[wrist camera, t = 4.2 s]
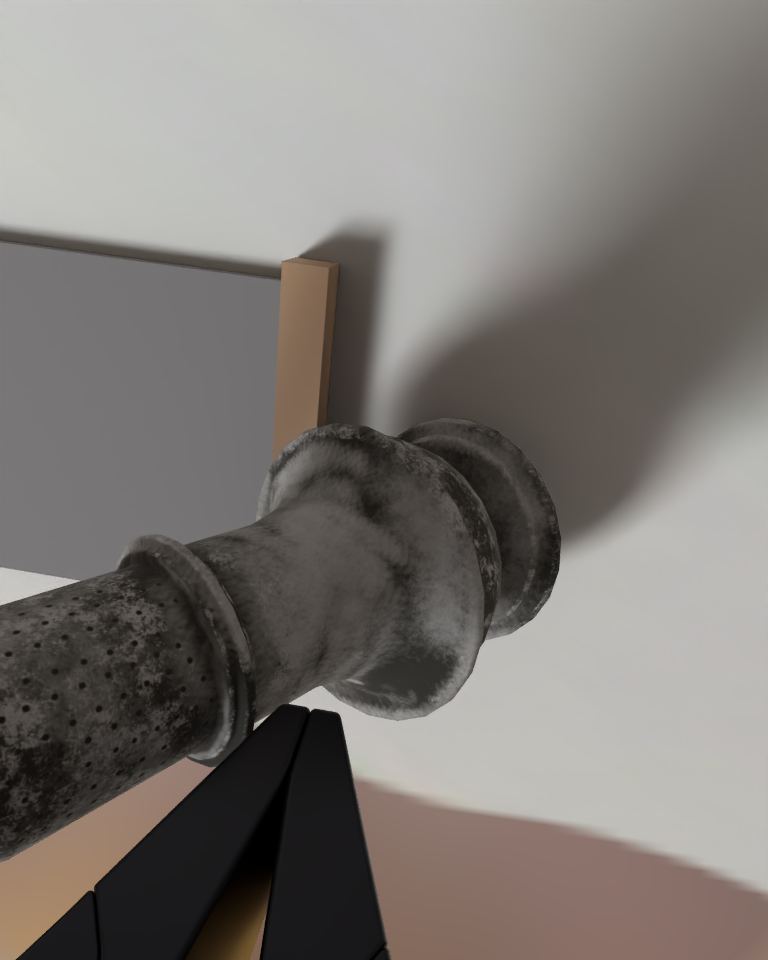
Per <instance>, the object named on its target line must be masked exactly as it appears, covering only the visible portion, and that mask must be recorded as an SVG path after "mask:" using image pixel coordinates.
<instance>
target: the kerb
mask: <svg viewBox="0 0 768 960" xmlns="http://www.w3.org/2000/svg"><path fill="white" fill-rule="evenodd" d="M338 273H339V263H334V262H326V261H319V260H311V259H304V258H297V257H296V258H292V259H289V260H285V261H282V270H281V291H280V312H279V333H278V354H277V374H276V395H275V416H274V437H273V458H272V464H273V462H274V461H275V459H276V458H277V456H278V455H279V454H280V452H281V451H282V449H283V448H284V446H285V445H287V444H288V443H290V442H291V441H292V440H294V439H295V438H296V437H298V436H299V435H301V434H302V433H303V432H305V431H306V430H309V429H313V428H317V427H321V426H325V425H326V417H327V405H328V393H329V381H330V369H331V357H332V345H333V333H334V321H335V309H336V297H337V285H338Z"/></svg>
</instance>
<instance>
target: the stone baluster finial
mask: <svg viewBox="0 0 768 960" xmlns="http://www.w3.org/2000/svg"><path fill="white" fill-rule="evenodd" d="M560 547H561V536H560V531H559V526H558V521H557V516H556V511H555V506H554V504H553V502H552V499H551V497H550V495H549V493H548V491H547V489H546V486H545V484H544V482H543V480H542V478H541V476H540V474H539V473H538V472H537V470H536V469H535V468H534V467H533V465H532V464H531V463H530V461H529V460H528V459H527V458H526V456H525V455H524V454H523V452H522V451H521V450H520V449H519V448H517V447H516V446H515V445H514V444H512V443H511V442H510V441H508V440H507V439H506V438H505V437H503V436H502V435H501V434H499V433H498V432H497V431H495V430H493V429H490V428H488V427H485V426H483V425H481V424H478V423H476V422H474V421H471V420H464V419H454V418H440V419H436V420H431V421H427V422H422V423H418V424H417V425H415V426H413V427H412V428H410V429H408V430H407V431H405V432H403V433H402V434H400V435H399V436H398V437H397V438H396V437H389V436H386V435H384V434H382V433H380V432H378V431H375V430H373V429H371V428H369V427H366V426H358V425H350V424H342V423H333V424H329V425H325V426H321V427H317V428H313V429H309V430H306V431H305V432H303V433H302V434H301V435H299V436H298V437H296V438H295V439H294V440H292V441H291V442H290V443H288V444H287V445H285V446H284V448H283V449H282V451H281V452H280V454H279V455H278V456H277V458H276V459H275V461H274V462H273V464H272V465H271V466H270V468H269V470H268V472H267V475H266V478H265V481H264V484H263V487H262V489H261V492H260V495H259V498H258V506H257V515H256V522H255V523H253V524H251V525H249V526H245V527H242V528H239V529H235V530H232V531H229V532H225V533H222V534H219V535H215V536H212V537H208V538H205V539H202V540H198V541H195V542H192V543H188V544H185V545H182V544H181V543H180V542H178V541H176V540H174V539H171V538H168V537H166V536H163V535H160V534H155V535H144V536H140V537H138V538H136V539H135V540H134V541H132V542H131V543H130V544H128V545H127V546H126V548H125V549H124V551H123V553H122V555H121V557H120V558H119V560H118V562H117V565H116V569H115V571H113V572H110V573H106V574H103V575H100V576H96V577H93V578H90V579H86V580H83V581H80V582H77V583H73V584H70V585H67V586H63V587H60V588H57V589H54V590H50V591H47V592H44V593H40V594H37V595H34V596H31V597H27V598H24V599H21V600H17V601H14V602H11V603H7V604H4V605H1V606H0V862H2V861H6V860H8V859H10V858H12V857H13V856H15V855H17V854H19V853H20V852H22V851H24V850H26V849H27V848H29V847H31V846H33V845H34V844H36V843H38V842H39V841H41V840H43V839H44V838H46V837H48V836H50V835H52V834H53V833H55V832H57V831H58V830H60V829H62V828H64V827H65V826H67V825H69V824H70V823H72V822H74V821H75V820H78V819H79V818H81V817H83V816H84V815H86V814H88V813H89V812H91V811H93V810H95V809H96V808H98V807H100V806H102V805H103V804H105V803H107V802H109V801H110V800H112V799H114V798H115V797H117V796H119V795H121V794H123V793H124V792H126V791H128V790H129V789H131V788H133V787H135V786H136V785H138V784H140V783H142V782H143V781H145V780H147V779H148V778H150V777H152V776H154V775H155V774H157V773H159V772H161V771H162V770H164V769H166V768H168V767H169V766H171V765H173V764H174V763H176V762H178V761H179V760H181V759H183V758H185V757H187V758H188V759H190V760H192V761H194V762H197V763H200V764H203V765H205V766H208V767H217V766H218V765H219V764H220V763H221V762H222V761H223V760H224V759H225V758H226V757H227V756H228V755H229V754H230V753H231V752H232V751H233V750H234V749H235V748H236V747H238V746H239V745H240V744H241V743H242V742H243V741H244V740H245V739H246V738H247V737H248V736H249V735H250V734H251V733H252V732H253V727H254V723H256V722H257V721H259V720H261V719H263V718H264V717H266V716H268V715H269V714H271V713H272V712H274V711H275V710H276V709H277V708H278V707H279V706H280V705H282V704H288V703H290V702H291V701H293V700H295V699H297V698H298V697H300V696H302V695H303V694H305V693H307V692H309V691H310V690H312V689H314V688H315V687H318V686H321V685H322V686H323V687H324V688H325V689H327V690H328V691H329V692H330V693H331V694H333V695H334V696H335V697H336V698H337V699H339V700H340V701H342V702H344V703H346V704H348V705H350V706H352V707H354V708H355V709H357V710H359V711H361V712H363V713H365V714H367V715H371V716H376V717H381V718H386V719H391V720H396V721H399V720H406V719H412V718H418V717H425V716H427V715H428V714H430V713H432V712H433V711H435V710H436V709H438V708H440V707H441V706H443V705H444V704H446V703H448V702H449V701H451V700H452V699H453V698H454V697H455V695H456V694H457V693H458V691H459V690H460V689H461V687H462V686H463V684H464V683H465V682H466V680H467V679H468V677H469V676H470V675H471V673H472V672H473V668H474V665H475V662H476V659H477V655H478V652H479V649H480V647H481V645H482V644H483V643H484V641H485V640H488V639H492V638H496V637H500V636H504V635H508V634H511V633H513V632H514V631H516V630H517V629H519V628H520V627H522V626H523V625H525V624H526V623H528V622H529V621H531V620H532V619H533V618H534V617H535V616H536V615H537V613H538V612H539V611H540V609H541V608H542V607H543V605H544V604H545V603H546V601H547V600H548V599H549V597H550V595H551V592H552V589H553V586H554V583H555V580H556V578H557V575H558V572H559V564H560Z"/></svg>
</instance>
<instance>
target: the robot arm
mask: <svg viewBox="0 0 768 960" xmlns="http://www.w3.org/2000/svg"><path fill="white" fill-rule="evenodd" d="M266 912H267V913H266ZM265 915H266V920H265V928H264V934H263V940H262V947H261V953H260V960H391V955H390V951H389V949H388V948H387V938H386V933H385V928H384V923H383V919H382V914H381V909H380V905H379V899H378V895H377V890H376V885H375V880H374V875H373V871H372V866H371V861H370V856H369V851H368V846H367V842H366V837H365V832H364V827H363V822H362V817H361V813H360V808H359V803H358V798H357V793H356V789H355V784H354V779H353V774H352V769H351V764H350V760H349V755H348V750H347V745H346V740H345V736H344V731H343V726H342V721H341V717H340V715H339V714H338V713H336V712H332V711H326V710H320V709H313V710H312V711H311V712H310V710H309V709H308V708H307V707H303V706H297V705H291V704H282V705H280V706H279V707H278V708H277V709H276V710H275V711H274V712H272V713H271V714H270V715H269V716H268V717H267V718H266V719H265V720H264V721H263V722H262V723H261V724H260V725H259V726H258V727H257V728H256V729H255V730H254V731H253V732H252V733H251V734H250V735H249V736H248V737H247V738H246V739H245V740H244V741H243V742H242V743H241V744H240V745H239V746H238V747H236V748H235V749H234V750H233V751H232V752H231V753H230V754H229V755H228V756H227V757H226V758H225V759H224V760H223V761H222V762H221V763H220V764H219V765H218V766H217V767H216V768H215V769H214V770H213V771H212V772H211V773H210V774H209V775H208V776H207V777H206V778H205V779H204V780H203V781H202V782H201V783H199V784H198V785H197V786H196V787H195V788H194V789H193V790H192V791H191V792H190V793H189V794H188V795H187V796H186V797H185V798H184V799H183V800H182V801H181V802H180V803H179V804H178V805H177V806H176V807H175V808H174V809H173V810H172V811H171V812H170V813H169V814H168V815H167V816H166V817H165V818H164V819H162V820H161V821H160V822H159V823H158V824H157V825H156V826H155V827H154V828H153V829H152V830H151V831H150V832H149V833H148V834H147V835H146V836H145V837H144V838H143V839H142V840H141V841H140V842H139V843H138V844H137V845H136V846H135V847H134V848H133V849H132V850H131V851H130V852H128V854H127V855H125V856H124V858H122V859H121V860H120V861H119V862H118V863H117V864H116V865H115V866H114V867H113V868H112V869H111V870H110V871H109V872H108V873H107V874H106V875H105V876H104V877H103V878H102V879H101V880H100V881H99V882H98V883H97V884H96V885H95V887H94V892H93V891H88V892H87V893H86V894H85V895H84V896H83V897H82V898H81V899H80V900H79V901H78V902H77V903H76V904H75V905H74V906H73V907H72V908H71V909H70V910H69V911H67V913H65V915H63V916H62V917H61V918H60V919H59V920H58V921H57V922H56V923H55V924H54V925H53V926H52V927H51V928H50V929H49V930H47V931H46V932H45V933H44V934H43V935H42V936H41V937H40V938H39V939H38V940H37V941H35V942H34V943H33V944H32V945H31V946H30V947H29V948H28V949H27V950H26V951H25V952H24V953H23V954H21V955H20V956H19V957H18V958H17V959H16V960H250V957H251V954H252V952H253V948H254V946H255V943H256V940H257V937H258V934H259V932H260V929H261V926H262V923H263V920H264V917H265Z"/></svg>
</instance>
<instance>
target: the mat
mask: <svg viewBox="0 0 768 960" xmlns="http://www.w3.org/2000/svg"><path fill="white" fill-rule="evenodd" d="M280 291H281V278H274V277H267V276H260V275H252V274H245V273H238V272H230V271H223V270H216V269H208V268H201V267H194V266H186V265H179V264H172V263H165V262H157V261H150V260H143V259H135V258H128V257H121V256H113V255H106V254H99V253H91V252H84V251H77V250H69V249H62V248H55V247H48V246H40V245H33V244H26V243H18V242H11V241H4V240H0V567H3V568H9V569H15V570H21V571H27V572H33V573H39V574H45V575H51V576H57V577H63V578H68V579H74V580H80V581H83V580H86V579H90V578H93V577H96V576H100V575H103V574H106V573H110V572H113V571H115V569H116V565H117V562H118V560H119V558H120V557H121V555H122V553H123V551H124V549H125V548H126V546H127V545H128V544H130V543H131V542H132V541H134V540H135V539H136V538H138V537H140V536H144V535H155V534H160V535H163V536H166V537H168V538H171V539H174V540H176V541H178V542H180V543H181V544H182V545H185V544H188V543H192V542H195V541H198V540H202V539H205V538H208V537H212V536H215V535H219V534H222V533H225V532H229V531H232V530H235V529H239V528H242V527H245V526H249V525H251V524H253V523H255V522H256V515H257V506H258V498H259V495H260V492H261V489H262V487H263V484H264V481H265V478H266V475H267V472H268V470H269V468H270V466H271V465H272V458H273V437H274V416H275V395H276V374H277V354H278V333H279V312H280Z"/></svg>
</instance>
